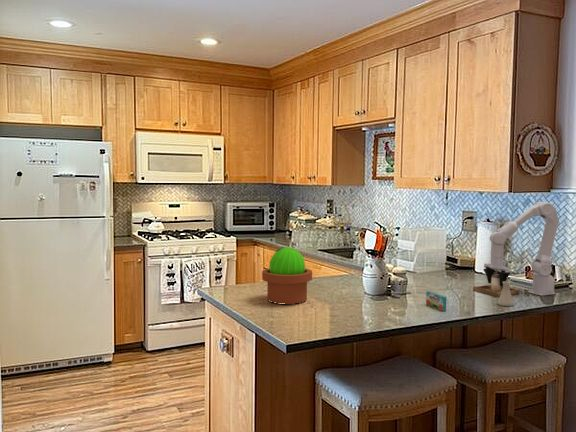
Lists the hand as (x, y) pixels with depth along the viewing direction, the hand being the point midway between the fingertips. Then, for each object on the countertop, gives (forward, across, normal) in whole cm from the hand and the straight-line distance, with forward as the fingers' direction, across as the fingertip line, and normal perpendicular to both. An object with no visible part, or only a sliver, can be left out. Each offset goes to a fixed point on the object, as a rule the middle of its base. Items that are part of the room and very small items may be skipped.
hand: (496, 284), depth 249 cm
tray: (+4, 0, 0) cm, 4 cm away
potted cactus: (+4, -23, -100) cm, 103 cm away
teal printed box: (+4, +13, -46) cm, 48 cm away
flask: (+4, +20, -14) cm, 25 cm away
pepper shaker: (+3, 0, 0) cm, 3 cm away
